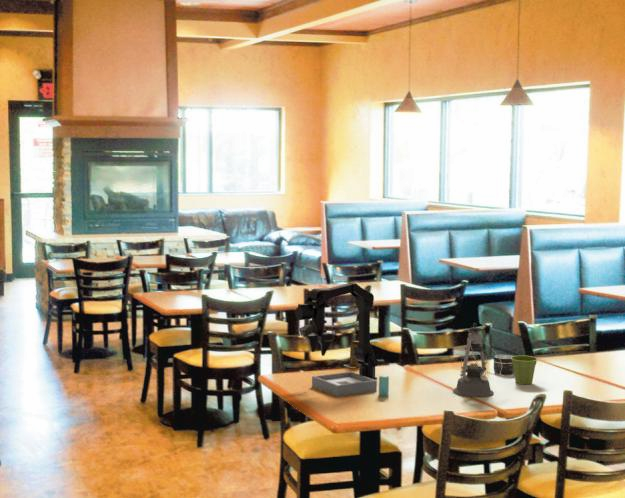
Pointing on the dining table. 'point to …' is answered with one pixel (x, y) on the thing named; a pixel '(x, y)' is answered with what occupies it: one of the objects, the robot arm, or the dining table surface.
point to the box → (344, 383)
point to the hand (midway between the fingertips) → (318, 353)
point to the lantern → (474, 370)
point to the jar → (503, 364)
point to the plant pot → (524, 368)
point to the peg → (383, 386)
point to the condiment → (352, 357)
